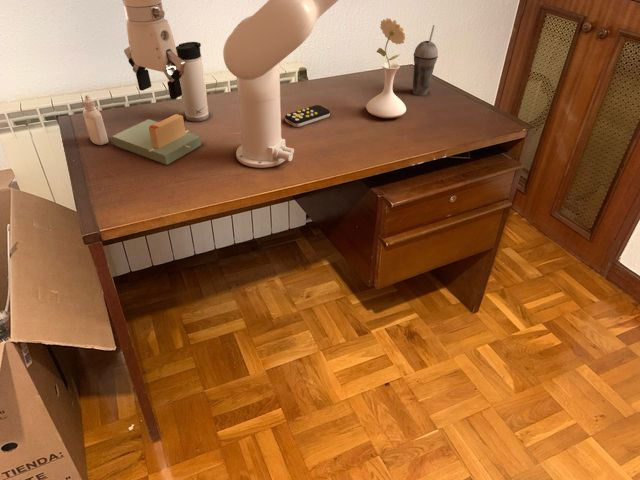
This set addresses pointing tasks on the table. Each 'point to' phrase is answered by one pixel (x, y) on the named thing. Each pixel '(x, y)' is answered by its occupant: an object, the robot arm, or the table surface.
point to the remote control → (307, 116)
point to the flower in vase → (388, 77)
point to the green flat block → (141, 143)
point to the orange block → (167, 131)
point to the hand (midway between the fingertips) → (160, 92)
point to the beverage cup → (424, 65)
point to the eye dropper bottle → (94, 122)
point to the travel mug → (193, 82)
